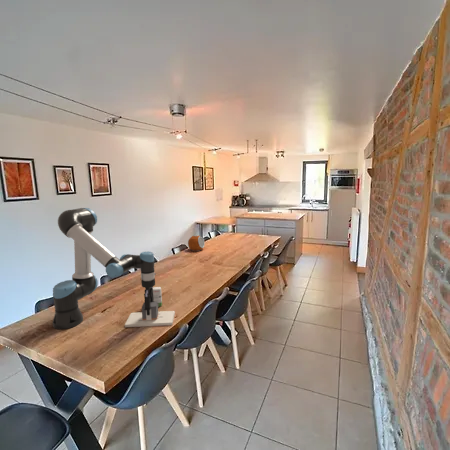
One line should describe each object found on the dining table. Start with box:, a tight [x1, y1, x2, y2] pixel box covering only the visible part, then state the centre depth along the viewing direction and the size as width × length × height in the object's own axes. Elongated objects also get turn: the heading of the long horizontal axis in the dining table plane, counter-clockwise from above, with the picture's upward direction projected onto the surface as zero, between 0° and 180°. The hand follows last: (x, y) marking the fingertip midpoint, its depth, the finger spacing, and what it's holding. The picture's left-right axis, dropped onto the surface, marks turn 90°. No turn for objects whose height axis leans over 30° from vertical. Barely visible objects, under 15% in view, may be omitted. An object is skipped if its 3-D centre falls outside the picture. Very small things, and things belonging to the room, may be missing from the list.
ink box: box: [153, 286, 163, 307], centre depth 179 cm, size 9×5×12 cm, turn 96°
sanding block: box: [141, 301, 159, 320], centre depth 160 cm, size 8×6×8 cm
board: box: [124, 310, 176, 328], centre depth 161 cm, size 26×14×2 cm, turn 94°
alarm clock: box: [187, 234, 205, 252], centre depth 319 cm, size 19×18×17 cm
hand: (150, 316), depth 161 cm, fingers closed on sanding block, 6 cm apart
